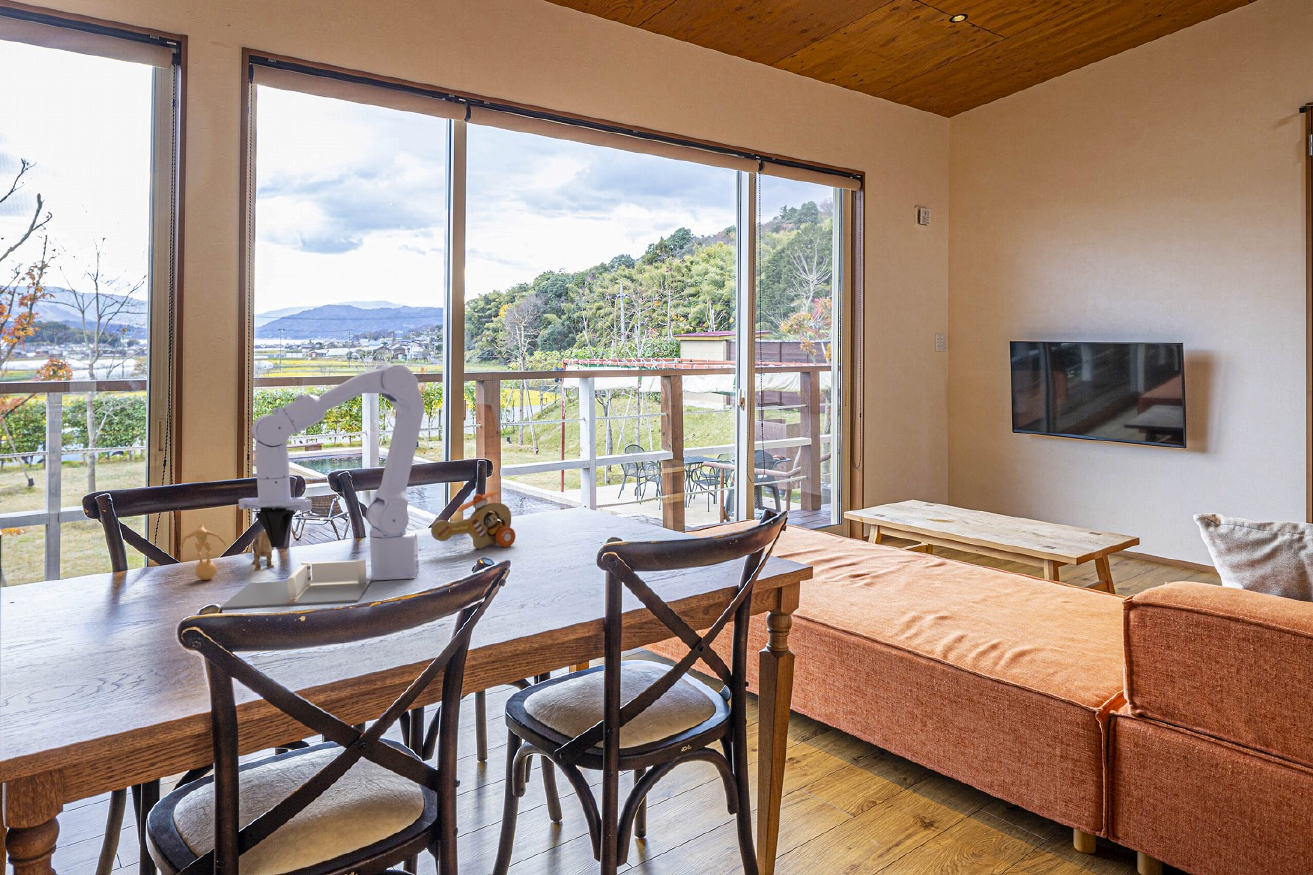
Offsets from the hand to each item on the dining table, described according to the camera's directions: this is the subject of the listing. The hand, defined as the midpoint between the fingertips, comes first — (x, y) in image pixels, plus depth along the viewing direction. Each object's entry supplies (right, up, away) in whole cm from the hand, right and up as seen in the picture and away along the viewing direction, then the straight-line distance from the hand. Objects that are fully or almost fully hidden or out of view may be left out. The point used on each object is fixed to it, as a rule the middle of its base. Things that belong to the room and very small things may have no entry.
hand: (277, 546), depth 159 cm
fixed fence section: (+9, -8, +5) cm, 13 cm away
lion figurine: (-13, -7, +22) cm, 27 cm away
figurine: (-19, -9, +10) cm, 24 cm away
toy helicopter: (+31, -6, +36) cm, 48 cm away
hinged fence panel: (+5, -8, -2) cm, 10 cm away
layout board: (+4, -9, +1) cm, 10 cm away
